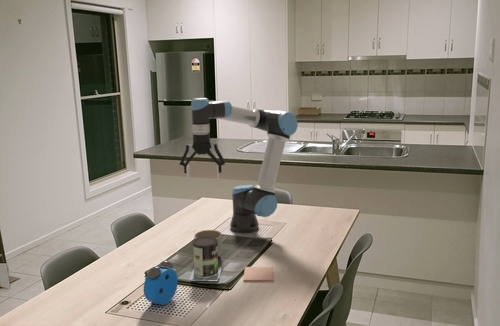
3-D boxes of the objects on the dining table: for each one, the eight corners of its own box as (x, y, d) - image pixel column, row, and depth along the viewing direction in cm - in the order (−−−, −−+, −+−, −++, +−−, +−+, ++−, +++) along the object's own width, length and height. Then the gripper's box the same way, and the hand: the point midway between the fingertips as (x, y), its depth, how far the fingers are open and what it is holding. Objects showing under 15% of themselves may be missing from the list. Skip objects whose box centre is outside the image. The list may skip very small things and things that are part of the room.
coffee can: (221, 268, 197) (220, 237, 194) (214, 279, 187) (213, 246, 184) (198, 266, 199) (197, 235, 196) (190, 277, 189) (189, 245, 186)
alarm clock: (166, 292, 180) (164, 256, 176) (179, 295, 177) (177, 259, 174) (144, 308, 168) (141, 269, 165) (157, 312, 165) (154, 273, 162)
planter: (226, 253, 215) (226, 231, 213) (216, 264, 203) (215, 241, 201) (202, 250, 219) (201, 228, 217) (190, 261, 207) (189, 238, 205)
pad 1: (194, 268, 200) (193, 266, 199) (221, 268, 199) (221, 266, 199) (189, 281, 188) (189, 279, 188) (218, 281, 187) (218, 279, 187)
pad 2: (245, 268, 199) (245, 266, 198) (273, 268, 198) (273, 266, 198) (243, 281, 187) (243, 279, 187) (273, 281, 186) (273, 279, 186)
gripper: (171, 135, 202) (174, 182, 207) (228, 134, 201) (230, 181, 205) (175, 132, 209) (177, 178, 214) (230, 131, 208) (231, 177, 213)
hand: (203, 180), depth 210 cm, fingers open, 13 cm apart
